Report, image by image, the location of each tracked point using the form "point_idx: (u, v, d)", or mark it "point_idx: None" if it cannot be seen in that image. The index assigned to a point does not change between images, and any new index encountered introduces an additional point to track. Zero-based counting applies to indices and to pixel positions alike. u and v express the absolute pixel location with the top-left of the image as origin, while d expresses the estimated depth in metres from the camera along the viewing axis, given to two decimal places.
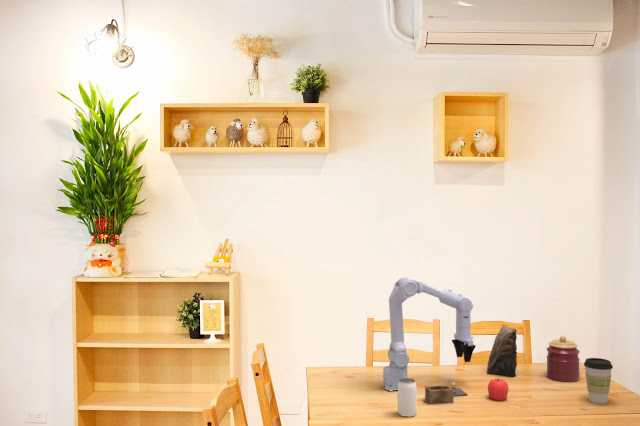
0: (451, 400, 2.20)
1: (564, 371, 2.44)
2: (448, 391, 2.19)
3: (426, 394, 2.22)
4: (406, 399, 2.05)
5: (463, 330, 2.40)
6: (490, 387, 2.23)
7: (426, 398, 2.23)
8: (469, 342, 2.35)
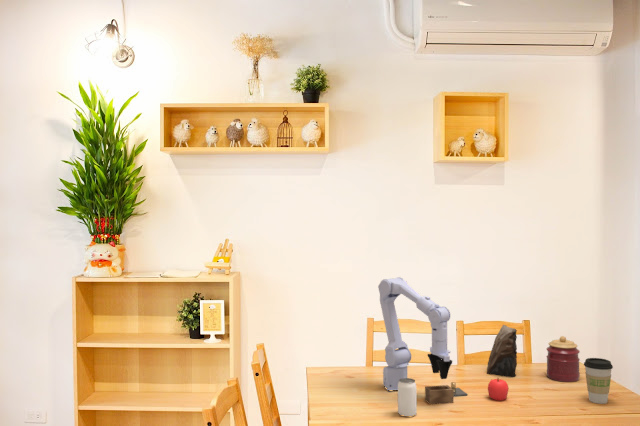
0: (451, 400, 2.20)
1: (564, 371, 2.44)
2: (448, 391, 2.19)
3: (426, 394, 2.22)
4: (406, 399, 2.05)
5: (439, 344, 2.19)
6: (490, 387, 2.23)
7: (426, 398, 2.23)
8: (445, 357, 2.15)
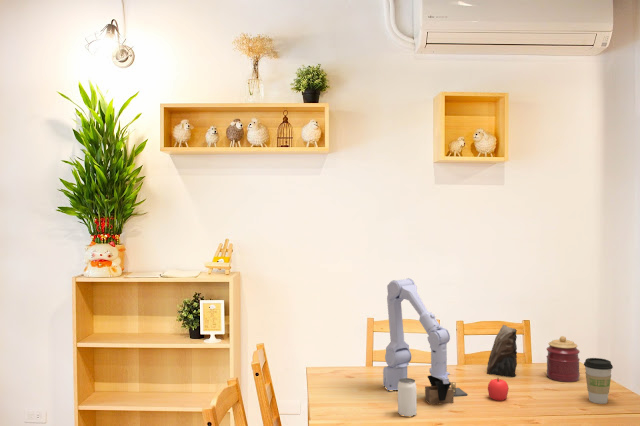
0: (451, 400, 2.20)
1: (564, 371, 2.44)
2: (448, 391, 2.19)
3: (426, 394, 2.22)
4: (406, 399, 2.05)
5: (438, 366, 2.19)
6: (490, 387, 2.23)
7: (426, 398, 2.23)
8: (444, 380, 2.14)
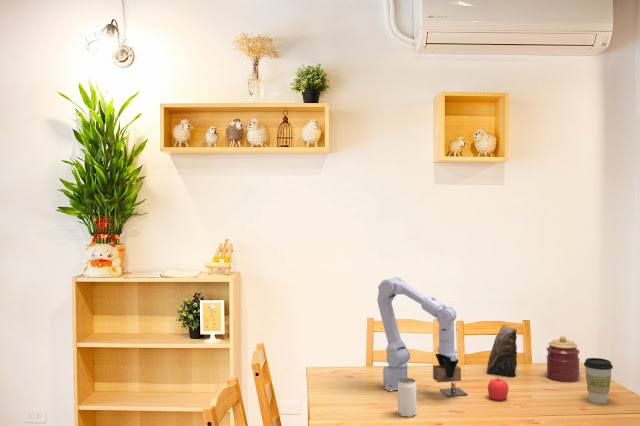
0: (459, 378, 2.24)
1: (564, 371, 2.44)
2: (455, 369, 2.24)
3: (434, 373, 2.27)
4: (406, 399, 2.05)
5: (446, 344, 2.24)
6: (490, 387, 2.23)
7: (433, 377, 2.28)
8: (452, 357, 2.19)
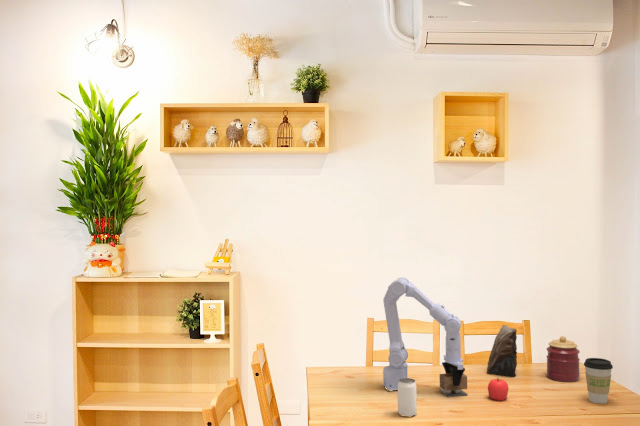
0: (465, 386, 2.29)
1: (564, 371, 2.44)
2: (462, 378, 2.29)
3: (441, 381, 2.31)
4: (406, 399, 2.05)
5: (452, 352, 2.28)
6: (490, 387, 2.23)
7: (440, 385, 2.32)
8: (459, 366, 2.24)
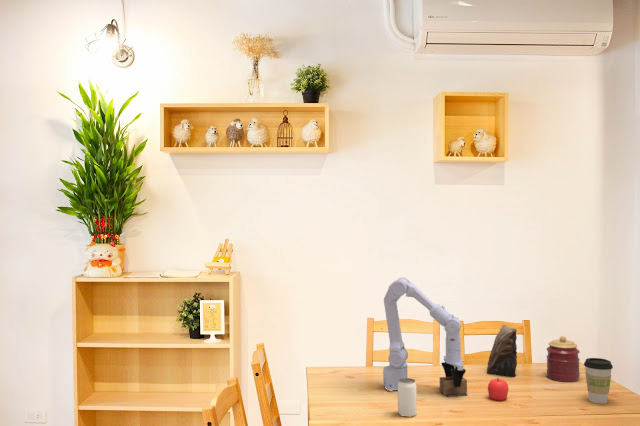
0: (465, 390, 2.29)
1: (564, 371, 2.44)
2: (462, 382, 2.29)
3: (441, 384, 2.32)
4: (406, 399, 2.05)
5: (452, 353, 2.28)
6: (490, 387, 2.23)
7: (440, 388, 2.32)
8: (459, 366, 2.24)
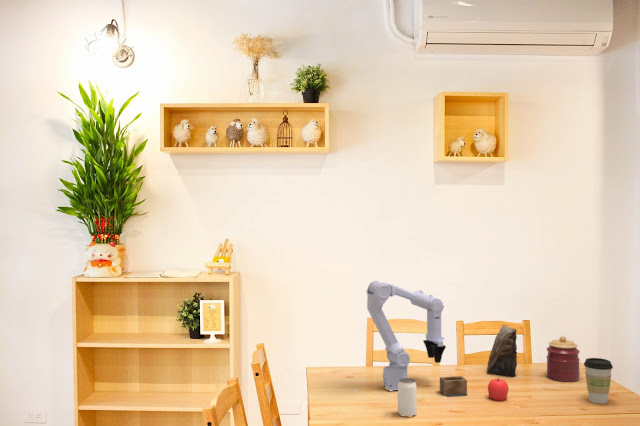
0: (465, 390, 2.29)
1: (564, 371, 2.44)
2: (462, 382, 2.29)
3: (441, 384, 2.32)
4: (406, 399, 2.05)
5: (433, 330, 2.40)
6: (490, 387, 2.23)
7: (440, 388, 2.32)
8: (439, 343, 2.35)
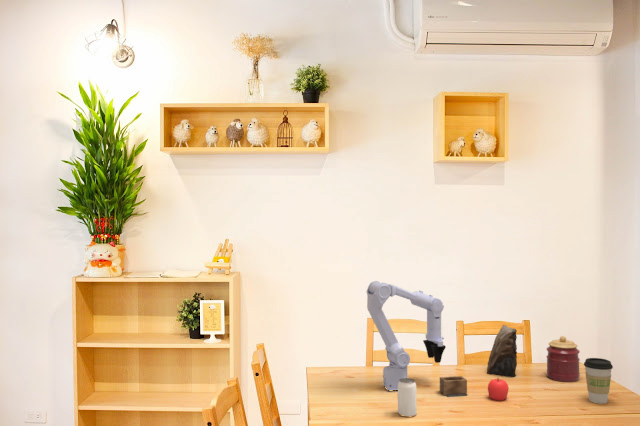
0: (465, 390, 2.29)
1: (564, 371, 2.44)
2: (462, 382, 2.29)
3: (441, 384, 2.32)
4: (406, 399, 2.05)
5: (433, 330, 2.40)
6: (490, 387, 2.23)
7: (440, 388, 2.32)
8: (439, 343, 2.35)
